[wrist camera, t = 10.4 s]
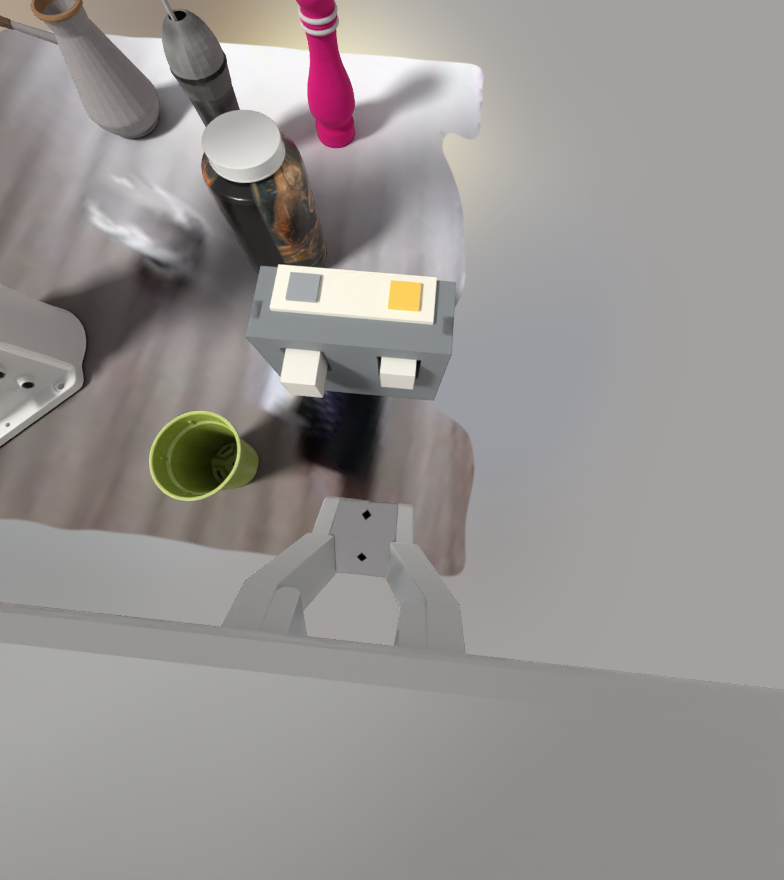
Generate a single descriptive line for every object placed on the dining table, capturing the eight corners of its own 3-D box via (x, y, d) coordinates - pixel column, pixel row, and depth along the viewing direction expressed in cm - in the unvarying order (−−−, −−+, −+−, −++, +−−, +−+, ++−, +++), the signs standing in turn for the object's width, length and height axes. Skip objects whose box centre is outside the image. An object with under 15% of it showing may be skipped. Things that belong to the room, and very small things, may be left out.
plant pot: (286, 469, 40) (257, 459, 31) (226, 517, 38) (179, 520, 30) (246, 416, 41) (208, 393, 33) (186, 461, 40) (131, 449, 32)
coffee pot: (168, 93, 54) (84, -61, 39) (170, 142, 51) (82, -3, 37) (45, 110, 53) (-88, -41, 38) (41, 161, 51) (-102, 21, 36)
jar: (250, 289, 45) (182, 186, 31) (249, 225, 48) (186, 101, 33) (329, 282, 46) (299, 177, 31) (324, 218, 48) (294, 93, 33)
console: (433, 400, 42) (452, 351, 28) (289, 387, 42) (241, 332, 29) (437, 347, 43) (457, 277, 30) (298, 335, 44) (257, 260, 30)
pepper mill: (360, 147, 51) (341, -75, 32) (318, 153, 51) (271, -67, 31) (354, 115, 53) (331, -115, 33) (312, 121, 52) (265, -108, 33)
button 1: (322, 397, 34) (314, 385, 31) (291, 394, 34) (279, 381, 31) (329, 356, 35) (321, 340, 32) (298, 354, 35) (288, 337, 32)
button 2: (412, 389, 34) (415, 376, 31) (381, 386, 34) (379, 373, 31) (416, 349, 35) (418, 332, 32) (385, 346, 36) (384, 329, 32)
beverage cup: (272, 154, 51) (196, -65, 31) (247, 185, 49) (152, -24, 30) (236, 138, 52) (140, -86, 32) (210, 168, 50) (95, -47, 31)
